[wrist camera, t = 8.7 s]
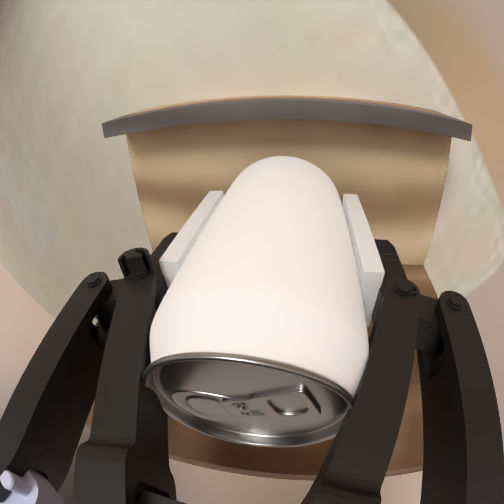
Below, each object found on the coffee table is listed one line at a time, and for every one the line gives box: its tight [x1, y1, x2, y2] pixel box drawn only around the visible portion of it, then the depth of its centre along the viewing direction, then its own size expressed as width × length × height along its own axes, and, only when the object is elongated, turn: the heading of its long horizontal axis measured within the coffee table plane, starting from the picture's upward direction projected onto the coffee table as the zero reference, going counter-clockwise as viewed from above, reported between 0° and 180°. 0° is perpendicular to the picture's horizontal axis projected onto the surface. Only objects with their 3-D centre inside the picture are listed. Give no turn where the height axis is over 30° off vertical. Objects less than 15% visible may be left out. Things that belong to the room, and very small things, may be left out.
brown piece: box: [85, 96, 472, 480], centre depth 14 cm, size 13×22×18 cm, turn 94°
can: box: [142, 156, 369, 447], centre depth 11 cm, size 6×6×12 cm
